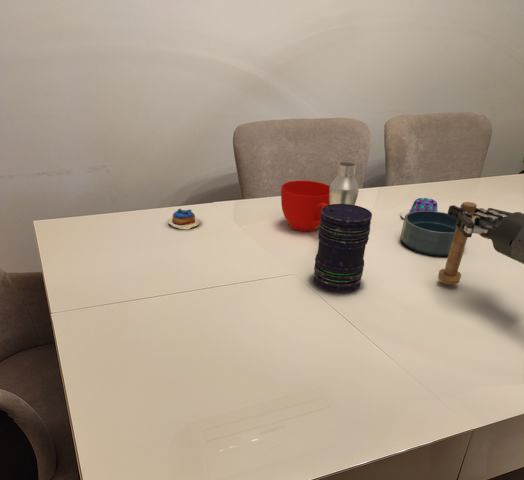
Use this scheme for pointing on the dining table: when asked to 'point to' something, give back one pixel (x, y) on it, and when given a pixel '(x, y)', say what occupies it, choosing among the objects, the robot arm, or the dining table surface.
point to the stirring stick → (456, 252)
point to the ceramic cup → (304, 203)
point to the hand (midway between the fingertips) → (455, 209)
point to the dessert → (183, 219)
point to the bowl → (428, 232)
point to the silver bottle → (344, 185)
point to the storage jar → (341, 247)
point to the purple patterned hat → (421, 206)
